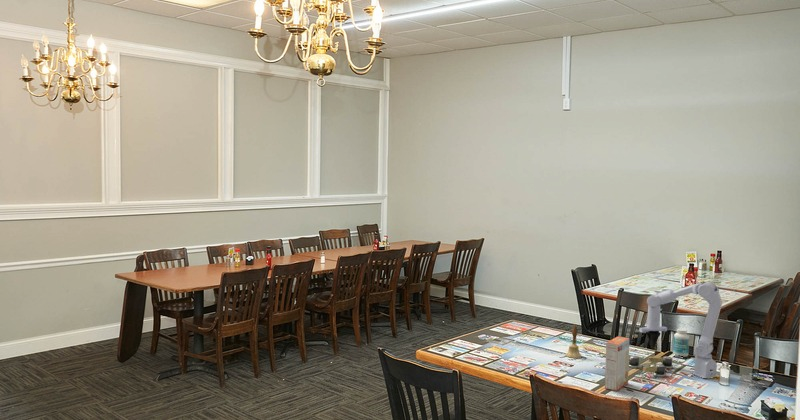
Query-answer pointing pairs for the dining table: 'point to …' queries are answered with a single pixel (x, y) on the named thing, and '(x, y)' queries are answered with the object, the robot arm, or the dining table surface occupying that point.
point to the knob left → (655, 369)
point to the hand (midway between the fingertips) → (652, 345)
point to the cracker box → (617, 363)
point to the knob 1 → (634, 360)
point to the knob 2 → (662, 360)
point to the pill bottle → (681, 343)
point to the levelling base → (651, 365)
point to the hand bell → (573, 346)
